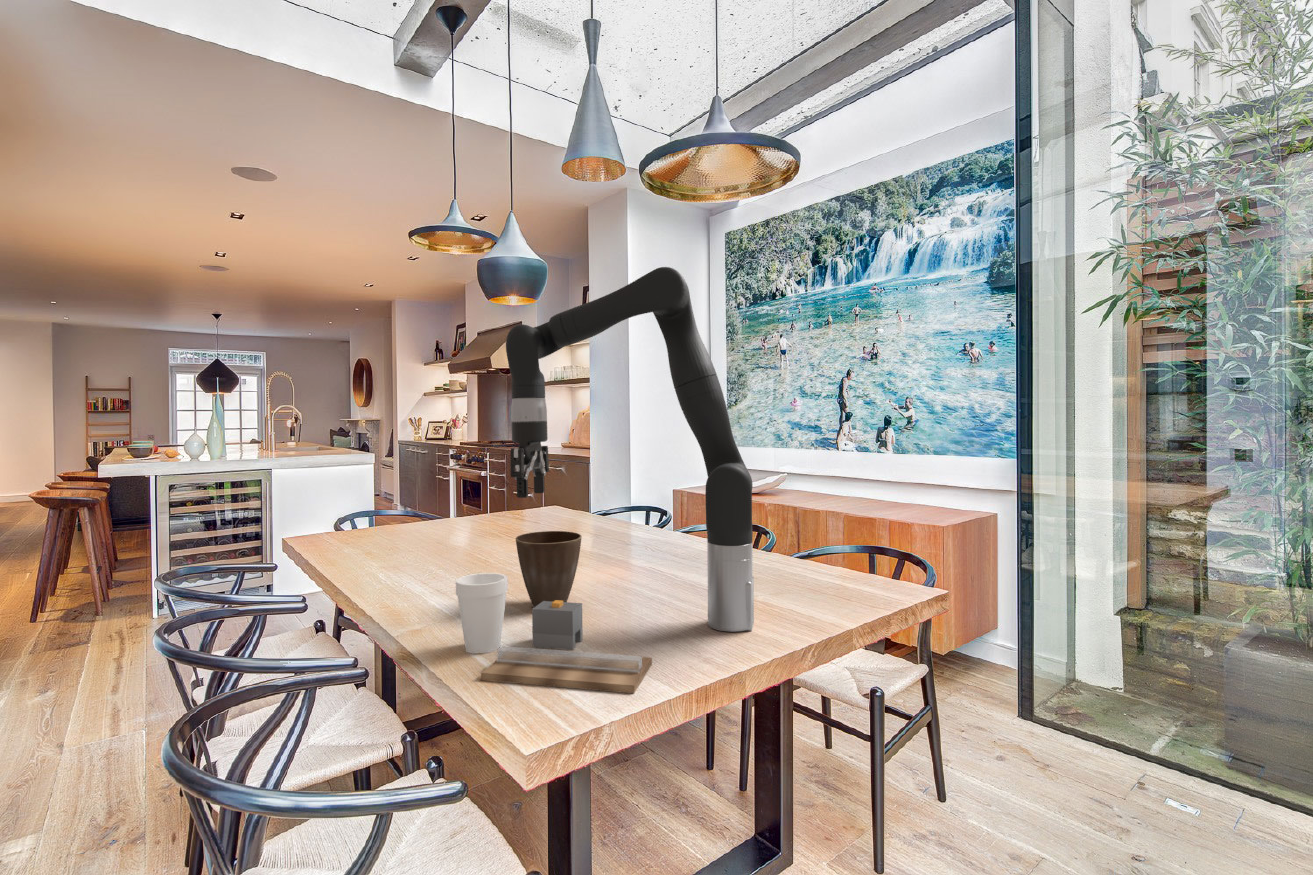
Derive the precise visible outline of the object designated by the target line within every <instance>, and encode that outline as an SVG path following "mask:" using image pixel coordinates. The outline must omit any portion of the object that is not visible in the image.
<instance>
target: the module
mask: <svg viewBox="0 0 1313 875" xmlns="http://www.w3.org/2000/svg"><path fill="white" fill-rule="evenodd" d="M531 614H532V616H531V617H532V618H531V619H532V622H531V623H532V624H531V625H532V628H531V629H532V647H533V646H534V647H533V648H541V649H554V650H568V651H573V650H574V649H576V643H581V642H583V640H584V639H583V638H584V637H583V633H584V632H583V631H584V629H583V603H582V602H568V601H567V602H563V601H561V600H555V601H554V602H552V601H543V602H541V603H540V604H538V605H537V606H536V607H533V608H532V609H531Z"/></svg>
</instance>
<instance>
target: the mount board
mask: <svg viewBox="0 0 1313 875" xmlns="http://www.w3.org/2000/svg"><path fill="white" fill-rule="evenodd" d="M497 660H498V659H496V660H495V661H494V662H492V663H491V664H490V665H488V666H487V667H486V668H485V669H484V670H482V671H481V672H480V681H489V682H490V681H491V682H500V683H501V682H502V683H510V684H511V683H512V684H521V685H522V684H524V685H537V686H544V687H545V686H546V687H547V686H548V687H559V688H560V687H561V688H568V689H569V688H570V689H583V690H591V691H592V690H594V691H603V692H604V691H605V692H615V693H617V692H618V693H629V694H635V693H636V692H637V690H638V688H639V687H640V685H641V683H642V681H643V680H644V678H645V677H646V675H647V673H649V670H650V669H651V666H652V665H653V658H652V657H647V656H646V657H645V656H642V666H643V668H642V669H641V671H640V672H639V674H633V673H621V672H608V671H596V670H583V669H571V668H558V667H546V666H533V665H520V664H508V663H497Z"/></svg>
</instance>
